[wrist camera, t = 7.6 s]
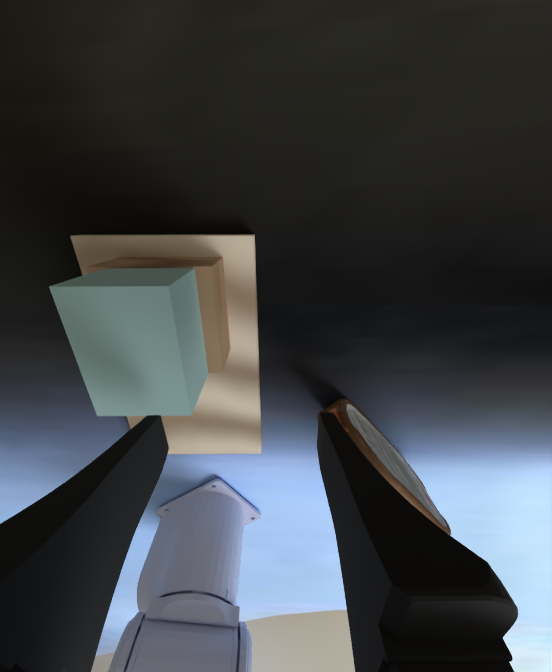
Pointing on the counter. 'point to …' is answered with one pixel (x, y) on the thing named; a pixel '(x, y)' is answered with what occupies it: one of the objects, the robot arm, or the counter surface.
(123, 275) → the teal brick
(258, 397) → the birch board
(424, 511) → the tin
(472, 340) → the counter surface
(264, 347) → the counter surface
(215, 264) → the walnut block
